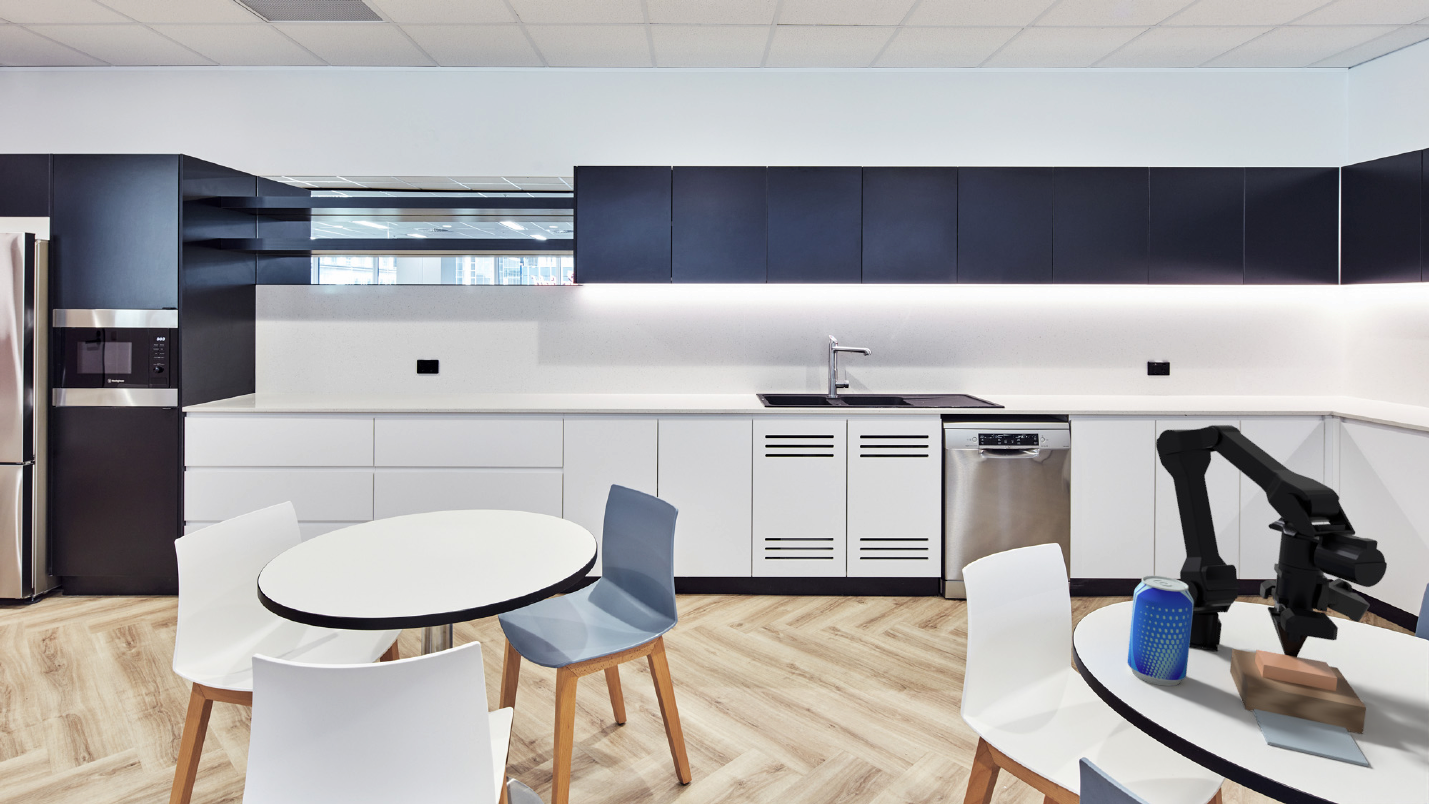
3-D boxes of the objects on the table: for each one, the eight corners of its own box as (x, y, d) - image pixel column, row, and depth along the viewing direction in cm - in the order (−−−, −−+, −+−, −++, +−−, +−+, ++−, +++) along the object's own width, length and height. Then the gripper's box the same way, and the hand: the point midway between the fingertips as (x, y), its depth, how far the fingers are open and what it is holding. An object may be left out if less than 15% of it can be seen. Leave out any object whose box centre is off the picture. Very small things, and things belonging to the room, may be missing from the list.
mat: (1267, 744, 105) (1267, 741, 105) (1253, 711, 114) (1253, 708, 114) (1368, 766, 101) (1368, 763, 100) (1345, 730, 109) (1345, 727, 109)
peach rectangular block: (1262, 676, 117) (1263, 664, 117) (1255, 661, 122) (1256, 649, 122) (1335, 691, 113) (1337, 678, 113) (1324, 674, 118) (1326, 662, 118)
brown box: (1245, 709, 115) (1248, 684, 114) (1229, 671, 127) (1232, 648, 127) (1362, 734, 109) (1366, 707, 108) (1334, 691, 121) (1337, 667, 121)
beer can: (1181, 670, 127) (1191, 578, 125) (1188, 693, 119) (1199, 595, 118) (1125, 660, 131) (1133, 570, 129) (1128, 680, 123) (1137, 586, 121)
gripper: (1388, 592, 107) (1375, 697, 109) (1346, 556, 124) (1335, 647, 126) (1291, 579, 112) (1280, 679, 114) (1264, 545, 129) (1254, 634, 130)
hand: (1290, 659), depth 121 cm, fingers closed
